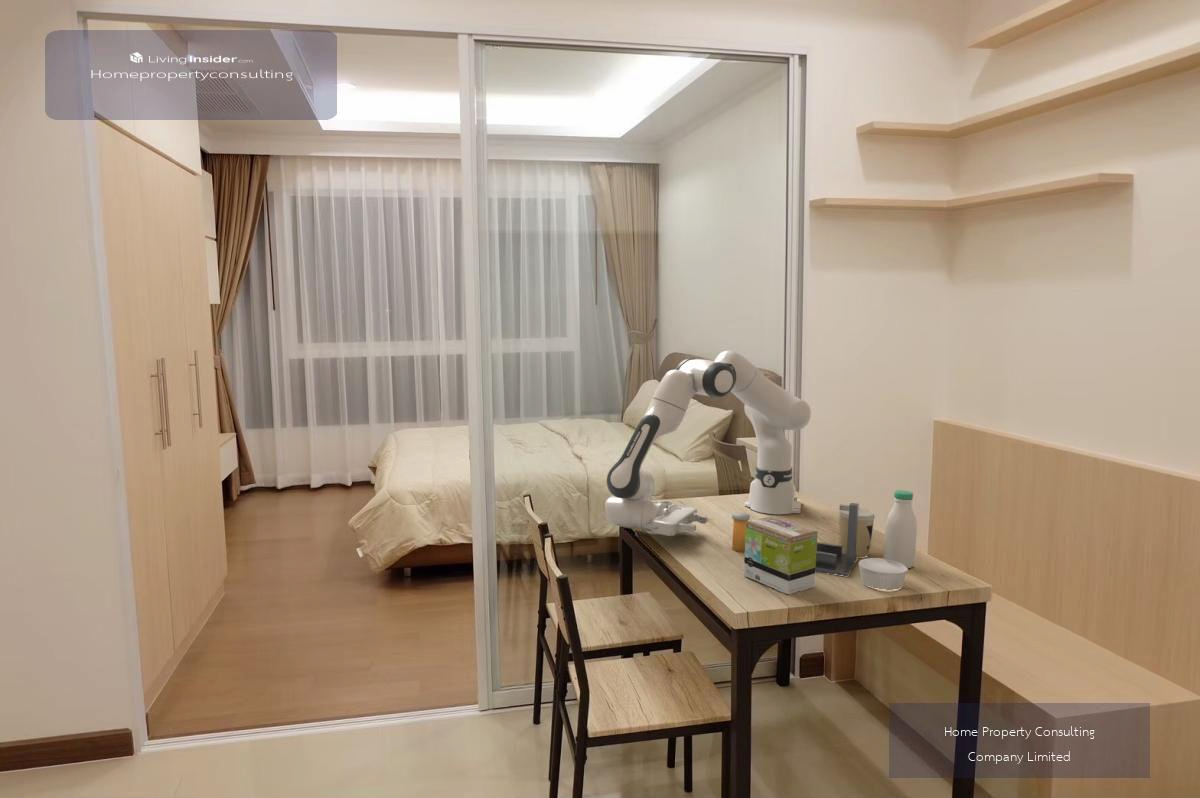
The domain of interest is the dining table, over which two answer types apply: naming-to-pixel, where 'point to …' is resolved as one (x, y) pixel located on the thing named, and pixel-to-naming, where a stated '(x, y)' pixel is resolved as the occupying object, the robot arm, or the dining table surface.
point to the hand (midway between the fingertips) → (701, 524)
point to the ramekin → (882, 573)
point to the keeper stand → (839, 548)
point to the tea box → (780, 554)
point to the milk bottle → (901, 530)
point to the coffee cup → (863, 531)
